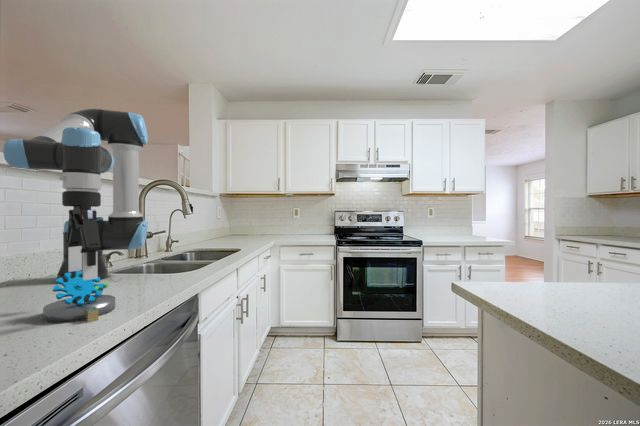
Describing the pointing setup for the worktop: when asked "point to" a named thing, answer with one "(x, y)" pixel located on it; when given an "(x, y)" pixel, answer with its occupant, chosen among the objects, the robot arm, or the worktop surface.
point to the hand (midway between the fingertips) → (82, 274)
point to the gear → (78, 288)
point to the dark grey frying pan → (78, 309)
